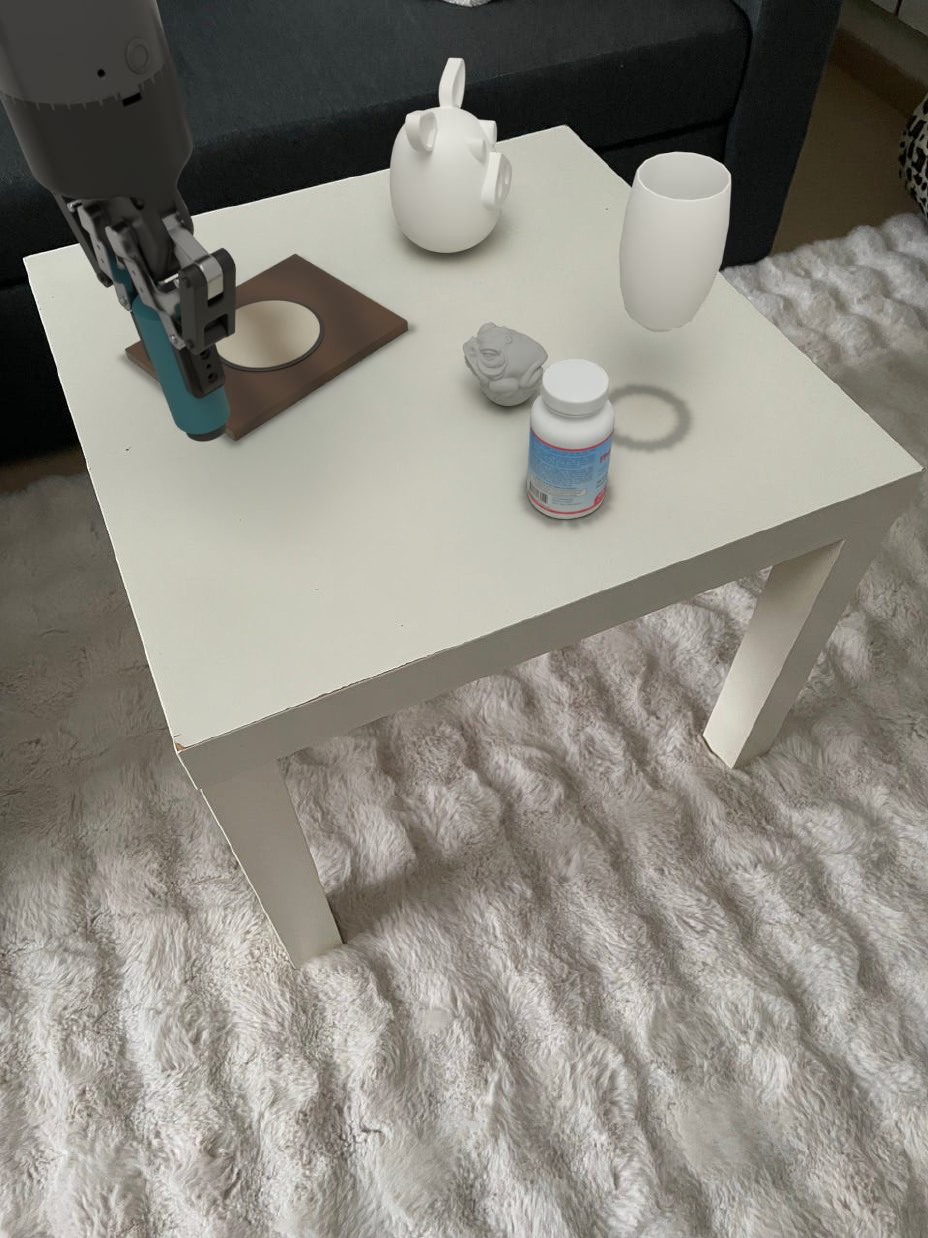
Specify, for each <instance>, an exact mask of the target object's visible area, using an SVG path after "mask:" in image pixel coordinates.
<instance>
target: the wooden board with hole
mask: <svg viewBox="0 0 928 1238" xmlns="http://www.w3.org/2000/svg"><path fill="white" fill-rule="evenodd" d="M408 324H409V323H408V320H407V319H405V318H404V317H402V316H400V315H399V314H397V313H396V312H394V311H393V310H390V309H389V308H388V307H385V306H384V305H382V304H381V303H379V302H377V301H376V300H374V299H372V298H370V297H369V296H367V295H365V294H364V293H362V292H360V291H359V290H357V289H355V288H354V287H352V286H350V285H349V284H347V283H346V282H344V281H342V280H341V279H339V278H337V277H336V276H334V275H332V274H330V273H329V272H327V271H325V270H324V269H322V268H320V267H319V266H317V265H316V264H314V263H312V262H310V261H309V260H308V259H305V258H304V257H303V256H301V255H299V254H297V253H293V254H292V255H290V256H288V257H287V258H285V259H283V260H281V261H279V262H278V263H276V264H274V265H272V266H270V267H268V268H266V269H265V270H263V271H261V272H259V273H258V274H256V275H254V276H252V277H251V278H249V279H247V280H246V281H245V280H244V281H243V282H242V283H240V284H238V285H236V310H235V333H234V334H232V335H231V336H229V337H227V338H226V337H225V338H224V339H222V340H220V341H218V342H217V343H215V344H216V347H217V350H218V354H219V357H220V360H221V364H222V367H223V370H224V374H225V377H226V380H225V383H224V385H223V387H224V391H225V394H226V397H227V400H228V404H229V407H230V415H229V418H228V420H227V429H226V431H225V432H224V434H227V436H229V437H231V438H232V439H233V440H234V441H238V440H240V439H241V438H243V437H245V435H248V434H249V433H250V432H252V431H253V430H255V429H256V428H258V427H259V426H261V425H262V424H264V423H266V422H267V421H268V420H271V419H272V418H273V417H275V416H276V415H278V414H279V413H281V412H283V411H284V410H286V409H287V408H289V407H290V406H292V405H294V404H295V403H297V402H298V401H300V400H301V399H303V398H304V397H306V396H308V395H309V394H311V393H312V392H314V391H315V390H317V389H319V388H321V386H323V385H325V384H327V383H328V382H329V381H331V380H332V379H334V378H335V377H337V376H338V375H340V374H342V373H343V372H344V371H346V370H347V369H349V368H351V367H352V366H354V365H356V364H357V363H359V362H360V361H362V360H363V359H365V358H366V357H368V356H369V355H371V354H373V353H374V352H376V351H377V350H379V349H380V348H382V347H383V346H385V345H386V344H388V343H390V342H391V341H393V340H394V339H396V338H397V337H399V336H401V335H402V334H404V333H405V332H407V331H408V330H409V325H408ZM124 352H125V355H126V357H127V359H129V360H130V361H132V362H133V363H134V364H135V365H136V366H138V367H139V368H140V369H142V370H143V371H144V372H146V374H148V375H150V376H151V377H152V378H153V379H155V380H156V381H157V382H159V380H158V377H157V374H156V372H155V369H154V366H153V364H152V363H151V362H150V361H149V360H148V358H147V356H146V353H145V350H144V348H143V345H142V343H141V340H140V339H139V340H138V341H136V342H135V343H133V344H131V345H129V346H127V347H126V348H124Z"/></svg>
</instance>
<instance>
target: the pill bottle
mask: <svg viewBox="0 0 928 1238" xmlns="http://www.w3.org/2000/svg"><path fill="white" fill-rule="evenodd" d="M609 386H610V379H609V376H608V374H607V372H606V370H605V369H604V368H603V367H601V366H600V365H599V364H597V363H595V362H593V361H591V360H587V359H582V358H566V359H562V360H559V361H556V362H554V363H553V364H551V365H549V366H548V367H547V368H546V370H545V371H543V375H542V379H541V387H540V395H538V396H537V397H536V399H535V400H534V402H533V404H532V407H531V409H530V415H529V429H528V455H527V480H526V481H527V482H526V491H527V497H528V500H529V501H530V502H531V505H532V506H534V508H536V509H537V510H538V511H539V512H540V513H542V514H544V515H545V516H547V517H549V518H550V517H551V518H554V519H559V520H572V519H577V518H582V517H584V516H588V515H589V514H592V513H593V512H594V511H596V510H597V509H599V507H600V506H601V504H602V503H603V501H604V498H605V495H606V490H607V482H608V476H609V475H608V474H609V468H610V460H611V454H612V453H611V452H612V445H613V439H614V438H613V437H614V431H615V430H614V429H615V422H616V416H615V415H616V414H615V410H614V407H613V404H612V403H611V401H610V399H609V394H610V393H609V389H610V388H609Z"/></svg>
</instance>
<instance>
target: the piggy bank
mask: <svg viewBox="0 0 928 1238" xmlns="http://www.w3.org/2000/svg"><path fill="white" fill-rule="evenodd" d="M465 85H466V64H465V60H464V59H463V58H462V57H449V58H448V59H447V62H446V65H445V67H444V70H443V71H442V75H441V77H440V80H439V86H438V102H439V106H438V107H432V108H428V109H425V110H415V111H412V112H410V113H407V114H406V116H405V121H404V123H403V124H402V126H401V128H400V129H399V131H398V133H397V135H396V138H395V140H394V144H393V146H392V150H391V157H390V164H389V195H390V202H391V203H390V204H391V208H392V211H393V215H394V218H395V220H396V222H397V225H398V226H399V228H400V230H401V231H402V232H403V234H404V235H405V236H406V237H407V238H408V239H409V240H410V241H411V242H412V243H414V244H415V245H416V246H418V247H420V248H422V249H424V250H428V251H431V252H435V253H439V254H442V253H443V254H450V253H451V254H452V253H458V252H462V251H465V250H468V249H471V248H472V247H474V246H477V245H478V244H479V243H482V241H484V240H485V239H486V238H487V237H488V236H489V235H490V234H491V232H492V231H493V230H494V229H495V226H497V223H498V221H499V219H500V216H501V213H502V209H503V205H504V203H505V202H506V200H507V198H508V195H509V193H510V189H511V186H512V180H513V179H512V178H513V169H512V164H511V161H510V160H509V158H508V157H507V156H506V155H505V154H504V153H503V152H500V151H498V152H497V151H496V149H495V145H496V144H497V138H498V127H497V123H496V121H495V120H487V119H479V118H478V117H476V116H475V115H473V113H471V112H469V111H467V110H464V109H462V108H461V107H462V104H463V100H464V95H465Z"/></svg>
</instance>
